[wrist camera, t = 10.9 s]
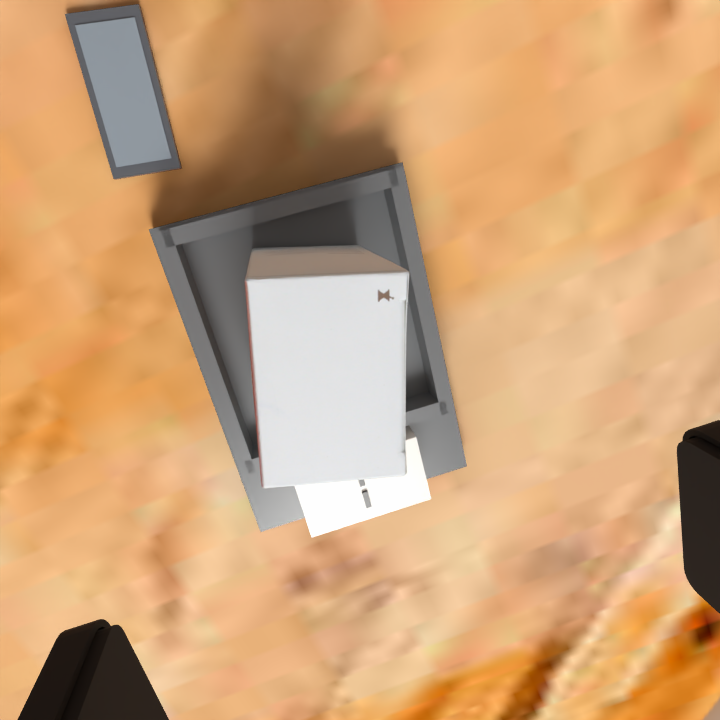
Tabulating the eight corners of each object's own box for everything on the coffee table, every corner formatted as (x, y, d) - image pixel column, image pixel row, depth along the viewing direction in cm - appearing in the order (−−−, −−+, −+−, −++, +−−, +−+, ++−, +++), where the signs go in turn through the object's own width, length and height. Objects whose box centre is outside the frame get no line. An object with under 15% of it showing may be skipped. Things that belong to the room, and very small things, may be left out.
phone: (72, 20, 24) (64, 13, 23) (142, 11, 25) (138, 3, 24) (118, 179, 26) (113, 179, 26) (183, 169, 27) (180, 167, 26)
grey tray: (153, 228, 27) (136, 231, 23) (397, 163, 28) (415, 158, 24) (260, 522, 32) (260, 559, 29) (461, 458, 33) (482, 487, 30)
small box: (251, 246, 27) (241, 270, 17) (360, 243, 28) (412, 265, 18) (261, 395, 29) (258, 494, 19) (362, 388, 30) (408, 480, 20)
